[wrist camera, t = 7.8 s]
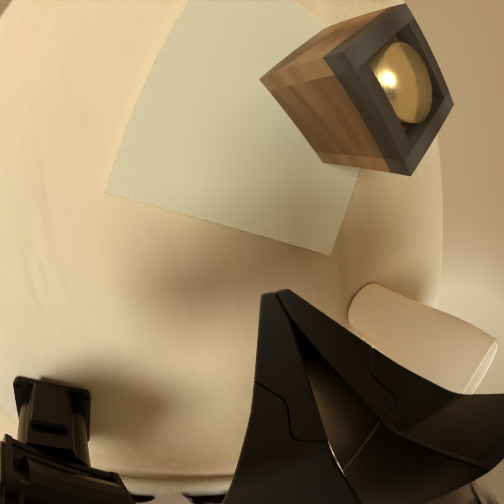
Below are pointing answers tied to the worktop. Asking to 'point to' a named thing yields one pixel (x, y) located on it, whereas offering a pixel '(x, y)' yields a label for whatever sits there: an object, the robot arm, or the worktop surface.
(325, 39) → the wooden box
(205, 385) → the worktop surface
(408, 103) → the peg
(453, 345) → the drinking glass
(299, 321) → the robot arm
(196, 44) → the mat
